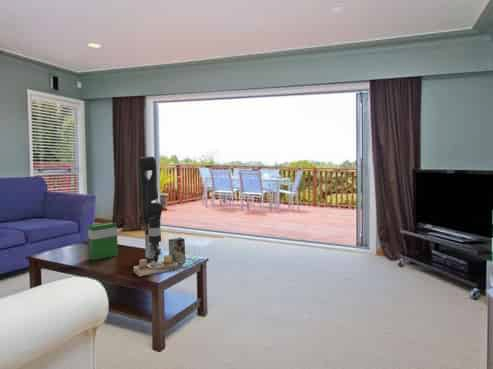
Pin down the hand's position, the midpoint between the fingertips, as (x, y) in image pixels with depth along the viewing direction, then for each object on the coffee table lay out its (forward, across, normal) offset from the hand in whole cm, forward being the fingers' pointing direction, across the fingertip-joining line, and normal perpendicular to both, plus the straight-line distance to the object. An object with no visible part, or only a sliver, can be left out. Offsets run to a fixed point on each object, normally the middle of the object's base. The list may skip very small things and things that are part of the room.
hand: (155, 261), depth 233 cm
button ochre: (+3, 0, +8) cm, 8 cm away
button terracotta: (+3, 0, -8) cm, 8 cm away
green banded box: (+6, -53, -19) cm, 57 cm away
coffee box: (+6, -8, +18) cm, 21 cm away
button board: (+6, 0, 0) cm, 6 cm away
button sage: (+5, 0, 0) cm, 5 cm away
